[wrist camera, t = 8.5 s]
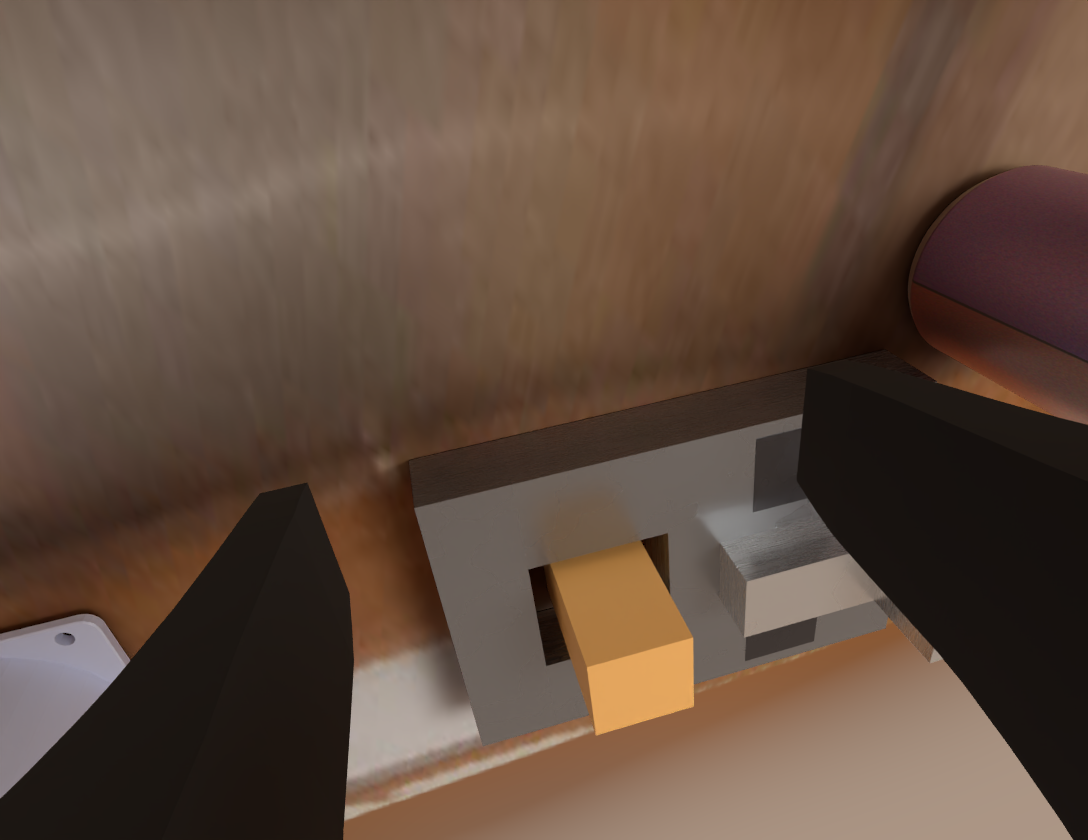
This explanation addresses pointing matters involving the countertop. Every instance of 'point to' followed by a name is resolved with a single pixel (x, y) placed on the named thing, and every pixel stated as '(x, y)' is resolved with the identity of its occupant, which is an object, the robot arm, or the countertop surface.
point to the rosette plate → (616, 534)
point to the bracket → (799, 581)
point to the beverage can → (1012, 285)
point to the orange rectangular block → (622, 636)
